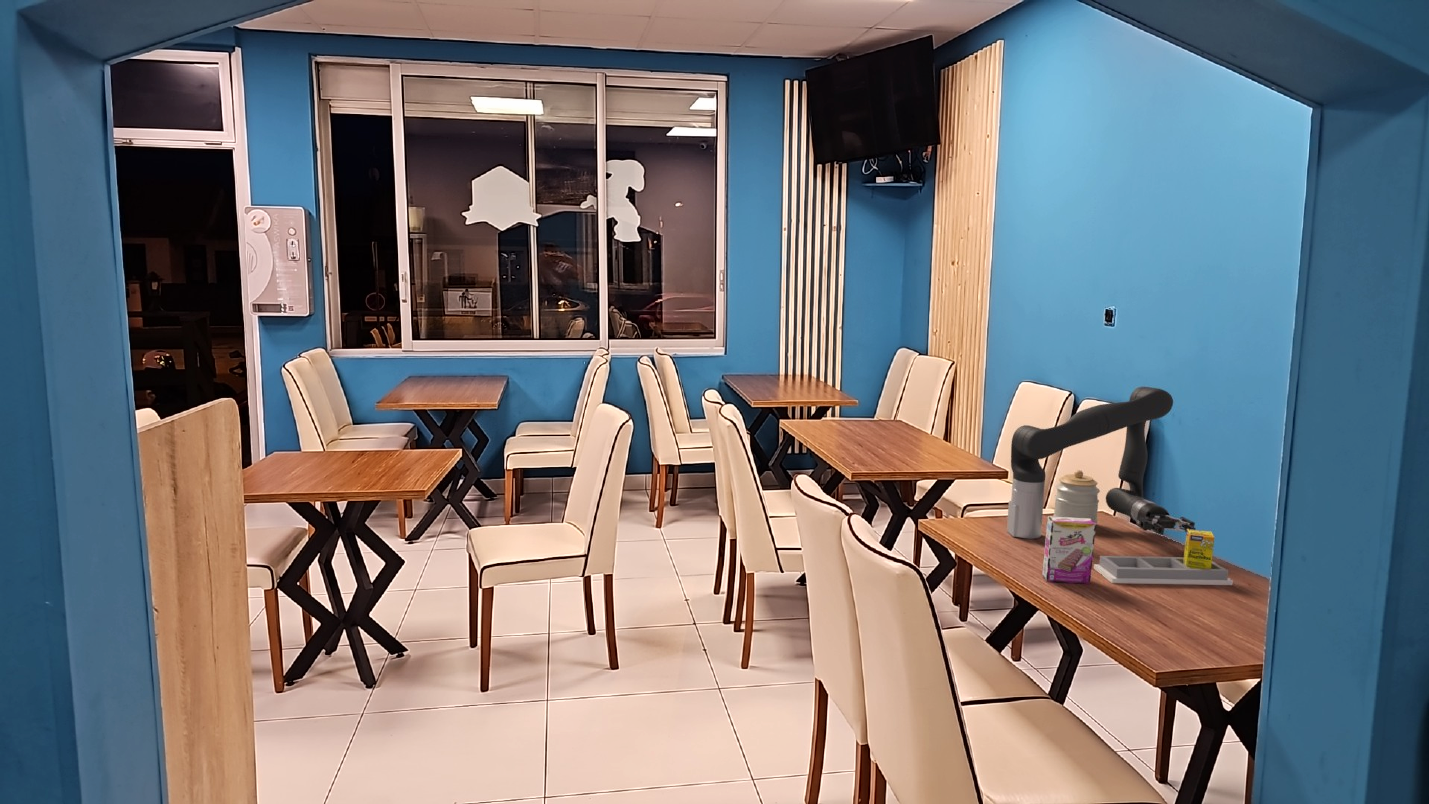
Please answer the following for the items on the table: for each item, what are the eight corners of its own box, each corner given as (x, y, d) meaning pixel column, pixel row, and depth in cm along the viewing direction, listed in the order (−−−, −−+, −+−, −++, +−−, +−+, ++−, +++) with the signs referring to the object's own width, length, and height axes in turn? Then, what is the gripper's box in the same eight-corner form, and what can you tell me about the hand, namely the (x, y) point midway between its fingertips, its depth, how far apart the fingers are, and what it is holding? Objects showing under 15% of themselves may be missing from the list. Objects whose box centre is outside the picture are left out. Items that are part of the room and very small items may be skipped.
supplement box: (1185, 574, 234) (1189, 534, 233) (1182, 567, 240) (1186, 528, 238) (1210, 577, 232) (1215, 537, 231) (1207, 570, 238) (1211, 531, 236)
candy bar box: (1046, 582, 230) (1051, 521, 228) (1041, 576, 235) (1046, 515, 233) (1091, 584, 229) (1096, 522, 227) (1085, 578, 234) (1090, 517, 232)
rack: (1112, 583, 231) (1113, 569, 230) (1093, 568, 242) (1094, 555, 241) (1232, 585, 231) (1234, 571, 230) (1208, 570, 242) (1210, 557, 241)
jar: (1092, 533, 275) (1097, 477, 272) (1048, 525, 282) (1053, 471, 279) (1099, 523, 286) (1104, 469, 283) (1057, 516, 292) (1061, 463, 290)
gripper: (1126, 502, 261) (1153, 517, 245) (1175, 503, 261) (1205, 518, 245) (1124, 527, 262) (1151, 544, 246) (1172, 528, 262) (1202, 545, 246)
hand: (1178, 531), depth 246 cm, fingers open, 8 cm apart
